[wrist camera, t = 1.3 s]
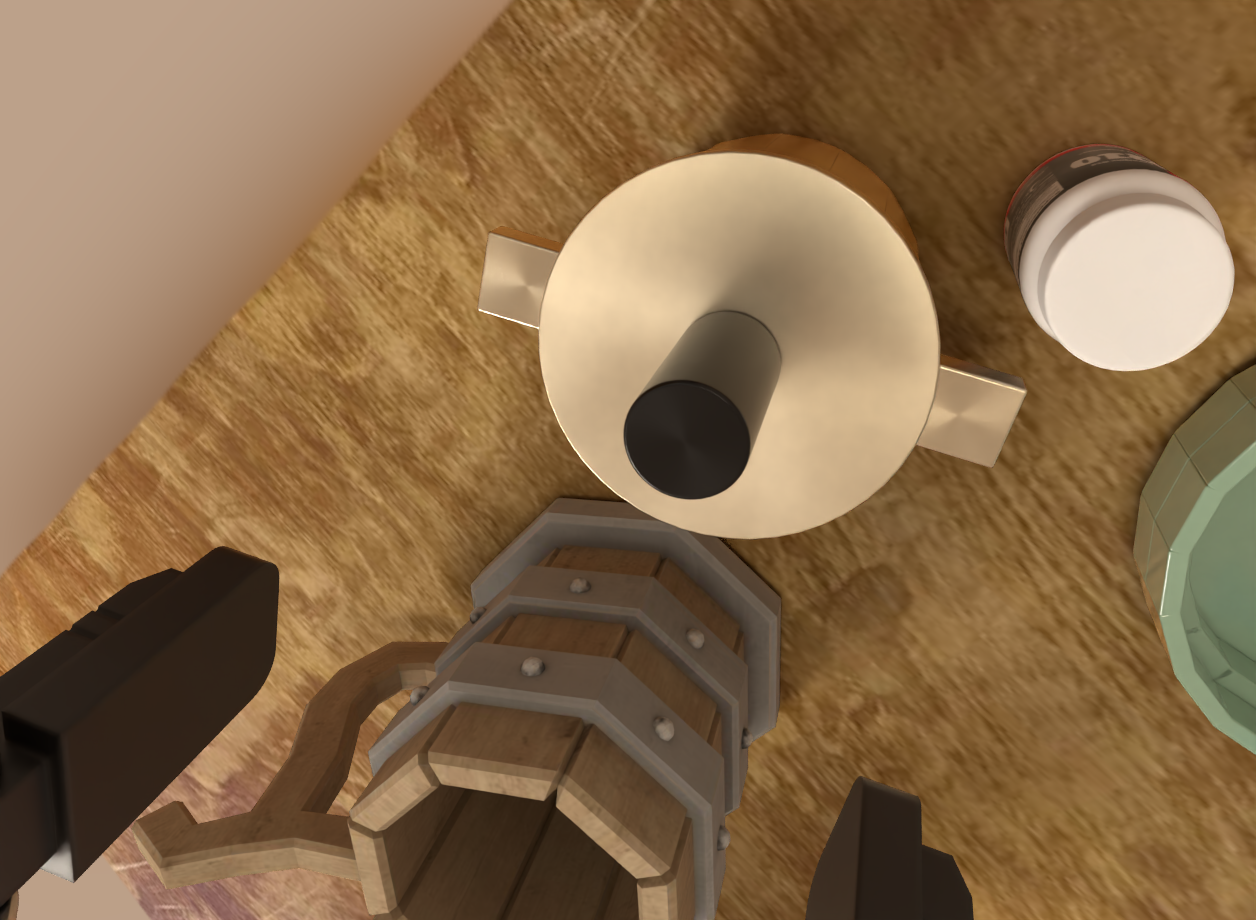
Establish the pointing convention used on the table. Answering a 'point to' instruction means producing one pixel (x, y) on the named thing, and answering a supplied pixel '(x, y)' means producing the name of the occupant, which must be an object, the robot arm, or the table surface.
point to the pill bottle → (1118, 257)
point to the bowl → (1207, 556)
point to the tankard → (531, 740)
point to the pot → (966, 393)
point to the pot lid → (739, 344)
